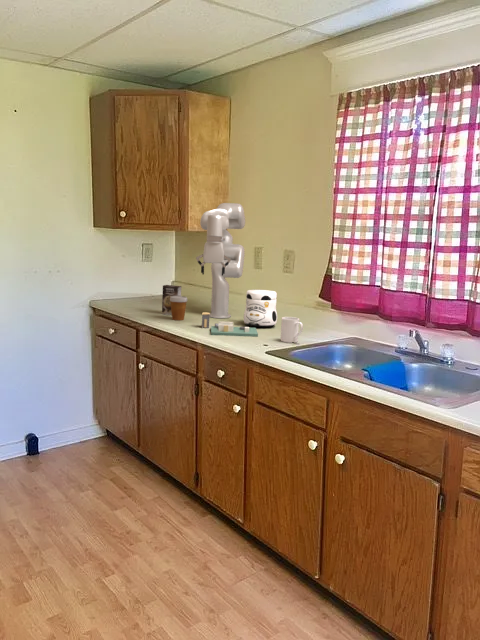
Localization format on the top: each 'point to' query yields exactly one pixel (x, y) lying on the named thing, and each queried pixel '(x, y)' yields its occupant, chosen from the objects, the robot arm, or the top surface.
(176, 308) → the disposable coffee cup
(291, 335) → the mug
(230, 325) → the board
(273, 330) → the top surface
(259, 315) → the milk container
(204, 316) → the plug
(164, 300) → the coffee box
